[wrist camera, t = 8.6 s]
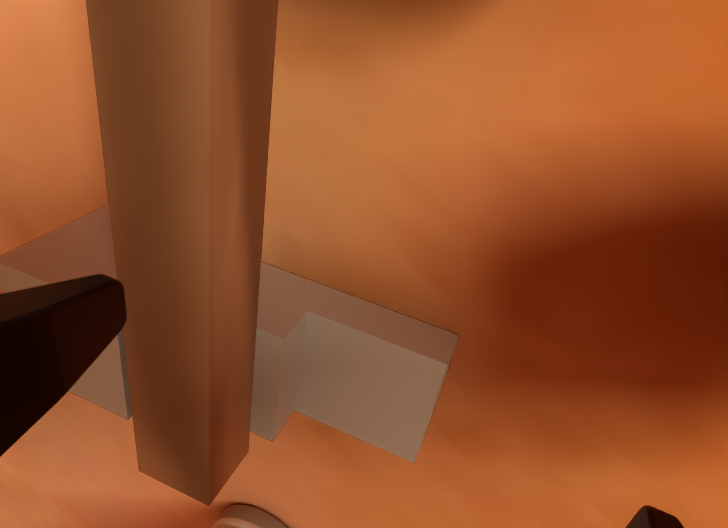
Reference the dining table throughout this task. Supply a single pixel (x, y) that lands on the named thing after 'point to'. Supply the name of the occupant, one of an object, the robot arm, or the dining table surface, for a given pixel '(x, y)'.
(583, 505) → the dining table surface
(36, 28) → the dining table surface
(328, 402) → the notch rack
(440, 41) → the dining table surface
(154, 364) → the walnut bar
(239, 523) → the travel mug
